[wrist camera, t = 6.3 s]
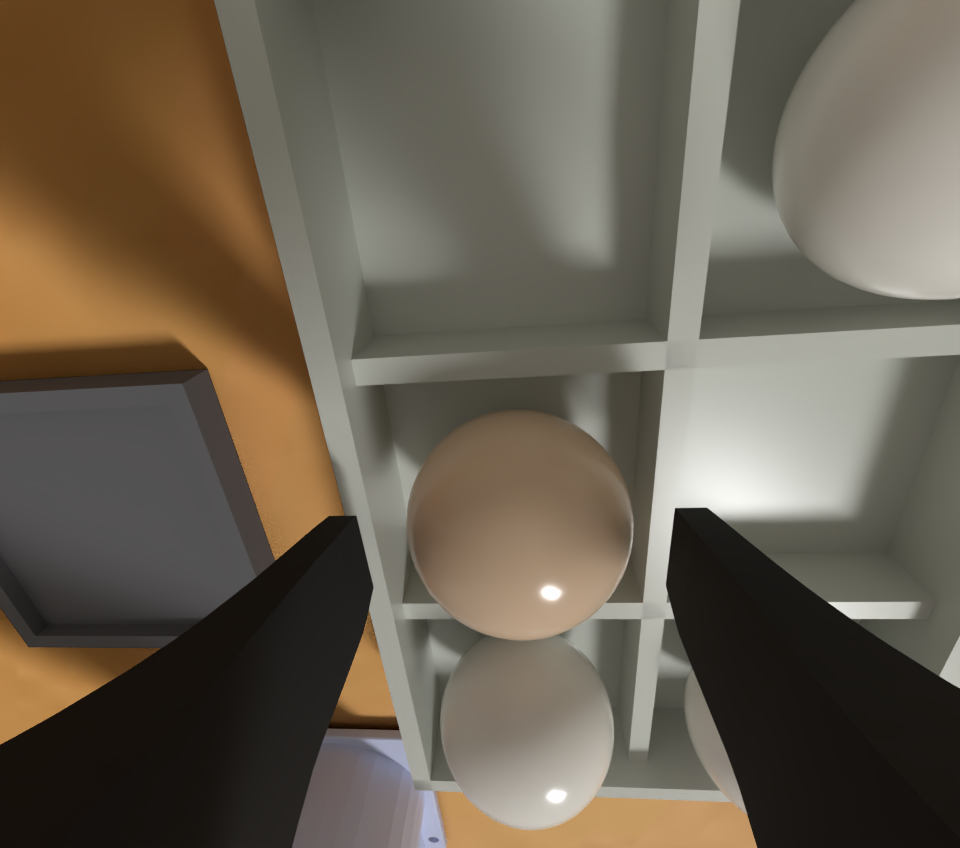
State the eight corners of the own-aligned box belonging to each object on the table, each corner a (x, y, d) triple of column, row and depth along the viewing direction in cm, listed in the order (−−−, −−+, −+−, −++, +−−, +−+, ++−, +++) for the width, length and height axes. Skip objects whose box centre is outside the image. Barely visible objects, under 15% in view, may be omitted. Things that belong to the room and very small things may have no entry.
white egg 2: (808, 696, 16) (919, 889, 12) (658, 694, 17) (709, 878, 12) (845, 588, 14) (998, 773, 10) (671, 589, 15) (739, 766, 10)
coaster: (296, 623, 18) (283, 648, 17) (54, 622, 19) (28, 647, 18) (207, 369, 13) (182, 383, 12) (-103, 386, 14) (-149, 401, 13)
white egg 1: (597, 693, 17) (625, 873, 12) (459, 691, 17) (439, 864, 13) (601, 589, 15) (638, 763, 10) (443, 590, 15) (412, 756, 11)
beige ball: (599, 530, 14) (656, 689, 9) (431, 540, 14) (409, 702, 10) (606, 369, 12) (684, 478, 7) (407, 384, 12) (364, 498, 7)
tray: (827, 700, 17) (892, 808, 14) (431, 694, 19) (415, 791, 16) (1143, -153, 8) (1541, -370, 5) (290, -29, 9) (179, -135, 6)
